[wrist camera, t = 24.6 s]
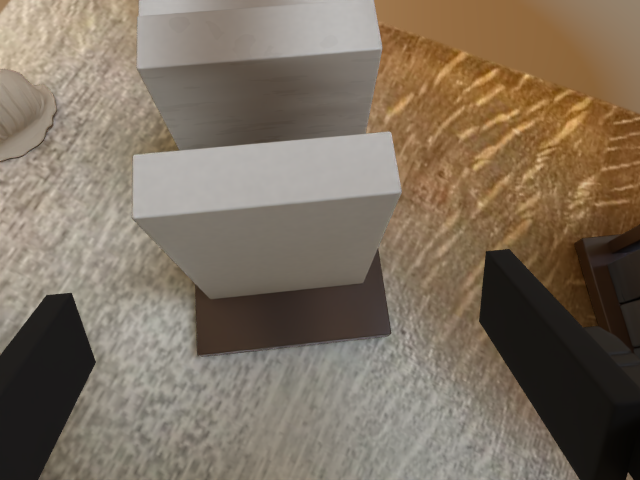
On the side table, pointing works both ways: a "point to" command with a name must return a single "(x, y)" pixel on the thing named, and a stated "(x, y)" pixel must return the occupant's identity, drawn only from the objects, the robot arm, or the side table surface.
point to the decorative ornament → (23, 114)
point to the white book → (269, 211)
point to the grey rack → (614, 283)
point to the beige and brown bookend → (267, 132)
